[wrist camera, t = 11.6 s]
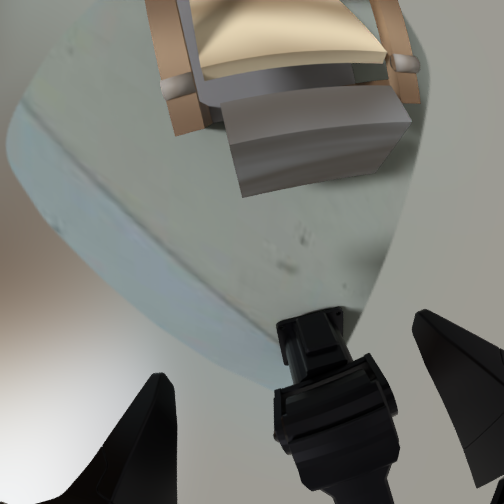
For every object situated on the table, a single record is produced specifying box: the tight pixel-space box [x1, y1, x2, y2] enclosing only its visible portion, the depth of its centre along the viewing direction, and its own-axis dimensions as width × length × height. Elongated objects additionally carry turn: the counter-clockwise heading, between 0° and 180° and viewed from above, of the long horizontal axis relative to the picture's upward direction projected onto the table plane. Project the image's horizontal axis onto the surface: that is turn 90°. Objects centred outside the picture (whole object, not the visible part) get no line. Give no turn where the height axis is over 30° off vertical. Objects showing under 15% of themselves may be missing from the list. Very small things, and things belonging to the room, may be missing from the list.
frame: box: [145, 0, 421, 136], centre depth 10 cm, size 12×11×8 cm
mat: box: [177, 0, 355, 123], centre depth 13 cm, size 12×11×1 cm
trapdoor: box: [189, 0, 412, 198], centre depth 12 cm, size 13×8×6 cm
